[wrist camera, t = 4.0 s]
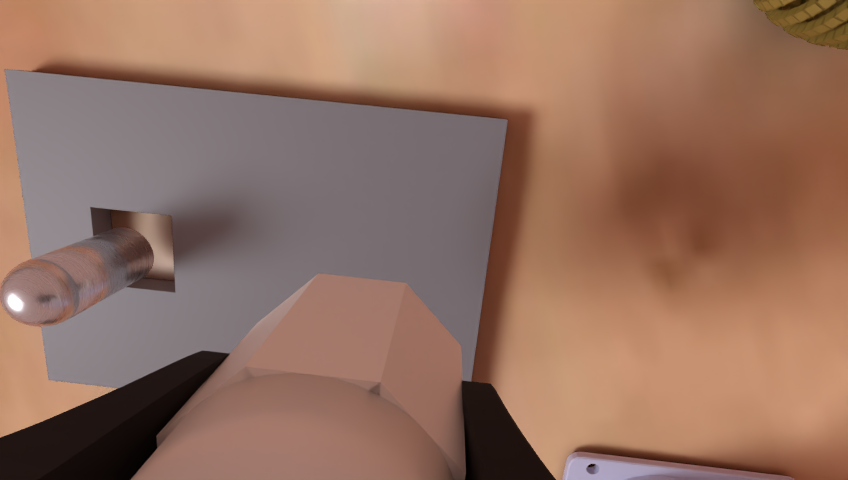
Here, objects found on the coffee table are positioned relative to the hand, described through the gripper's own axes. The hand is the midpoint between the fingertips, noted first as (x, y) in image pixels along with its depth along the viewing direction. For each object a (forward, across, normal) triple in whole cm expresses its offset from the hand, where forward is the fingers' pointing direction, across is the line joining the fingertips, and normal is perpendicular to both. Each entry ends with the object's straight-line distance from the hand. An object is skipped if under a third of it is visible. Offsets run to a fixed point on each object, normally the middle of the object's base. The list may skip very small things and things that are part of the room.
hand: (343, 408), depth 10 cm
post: (+7, +10, 0) cm, 12 cm away
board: (+9, +5, 0) cm, 10 cm away
